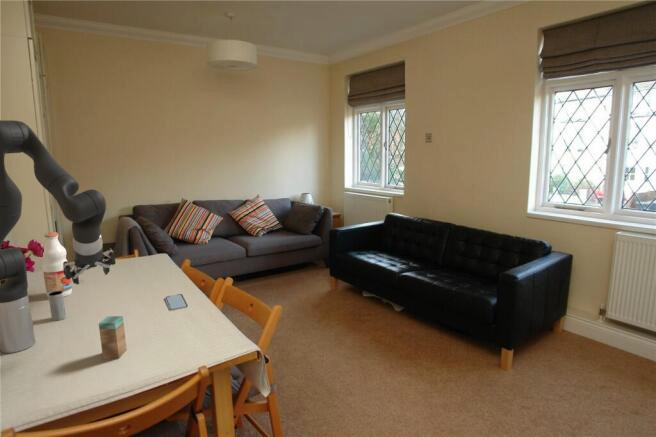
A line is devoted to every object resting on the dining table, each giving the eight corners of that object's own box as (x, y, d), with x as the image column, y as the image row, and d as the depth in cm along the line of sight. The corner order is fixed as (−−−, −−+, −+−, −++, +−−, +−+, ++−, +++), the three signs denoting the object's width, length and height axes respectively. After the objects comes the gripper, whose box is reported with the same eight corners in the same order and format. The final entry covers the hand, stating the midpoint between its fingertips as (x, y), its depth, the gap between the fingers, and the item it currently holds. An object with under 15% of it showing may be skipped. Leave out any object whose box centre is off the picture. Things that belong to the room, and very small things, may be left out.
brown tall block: (103, 358, 125) (98, 323, 123) (111, 350, 130) (107, 316, 127) (119, 358, 125) (114, 323, 123) (126, 350, 130) (122, 316, 128)
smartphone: (169, 310, 159) (164, 296, 172) (169, 312, 160) (164, 298, 172) (188, 306, 163) (182, 293, 176) (189, 308, 163) (182, 295, 176)
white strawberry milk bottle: (49, 292, 179) (40, 232, 173) (73, 289, 183) (65, 230, 177) (44, 300, 171) (35, 237, 165) (70, 296, 174) (62, 234, 169)
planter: (64, 314, 156) (61, 290, 154) (67, 318, 153) (63, 293, 151) (50, 318, 153) (47, 293, 151) (53, 322, 150) (49, 296, 148)
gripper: (108, 229, 126) (110, 261, 136) (56, 243, 117) (62, 277, 127) (118, 246, 123) (119, 277, 133) (65, 261, 114) (71, 294, 124)
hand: (91, 277), depth 130 cm, fingers open, 8 cm apart
